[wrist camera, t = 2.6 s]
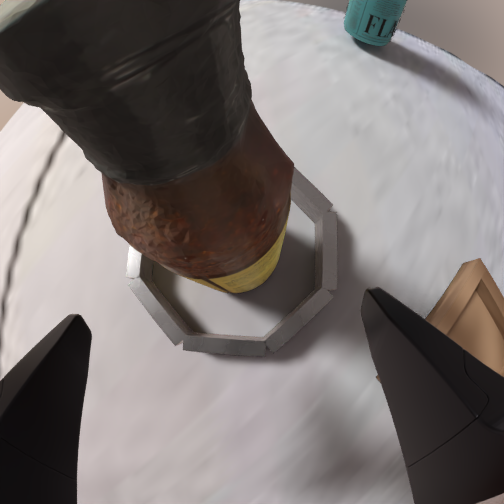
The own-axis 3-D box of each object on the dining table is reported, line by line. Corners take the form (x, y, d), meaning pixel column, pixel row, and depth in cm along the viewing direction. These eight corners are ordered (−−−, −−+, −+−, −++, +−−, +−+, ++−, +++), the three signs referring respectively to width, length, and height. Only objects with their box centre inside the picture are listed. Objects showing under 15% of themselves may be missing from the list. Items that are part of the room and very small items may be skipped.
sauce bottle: (280, 214, 21) (345, -88, 2) (275, 298, 20) (554, 102, 1) (194, 209, 21) (59, -49, 2) (184, 291, 20) (-116, 169, 1)
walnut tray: (442, 451, 17) (456, 460, 14) (375, 377, 19) (389, 384, 16) (513, 350, 18) (528, 351, 16) (463, 263, 20) (479, 258, 18)
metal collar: (225, 386, 19) (221, 396, 16) (112, 245, 21) (97, 238, 18) (363, 258, 20) (376, 251, 18) (241, 137, 23) (240, 119, 20)
